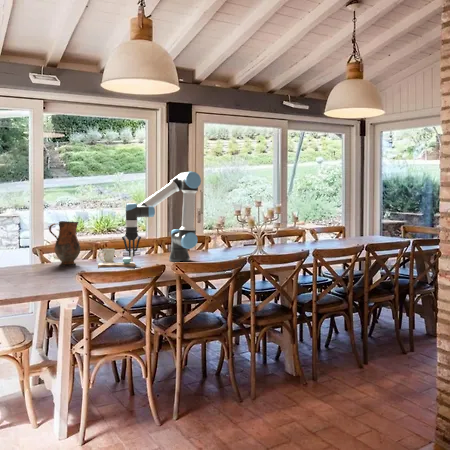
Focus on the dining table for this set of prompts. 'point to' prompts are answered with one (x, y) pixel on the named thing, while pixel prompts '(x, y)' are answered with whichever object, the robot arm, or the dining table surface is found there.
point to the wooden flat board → (116, 265)
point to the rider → (126, 260)
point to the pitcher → (67, 243)
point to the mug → (107, 255)
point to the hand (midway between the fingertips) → (131, 261)
